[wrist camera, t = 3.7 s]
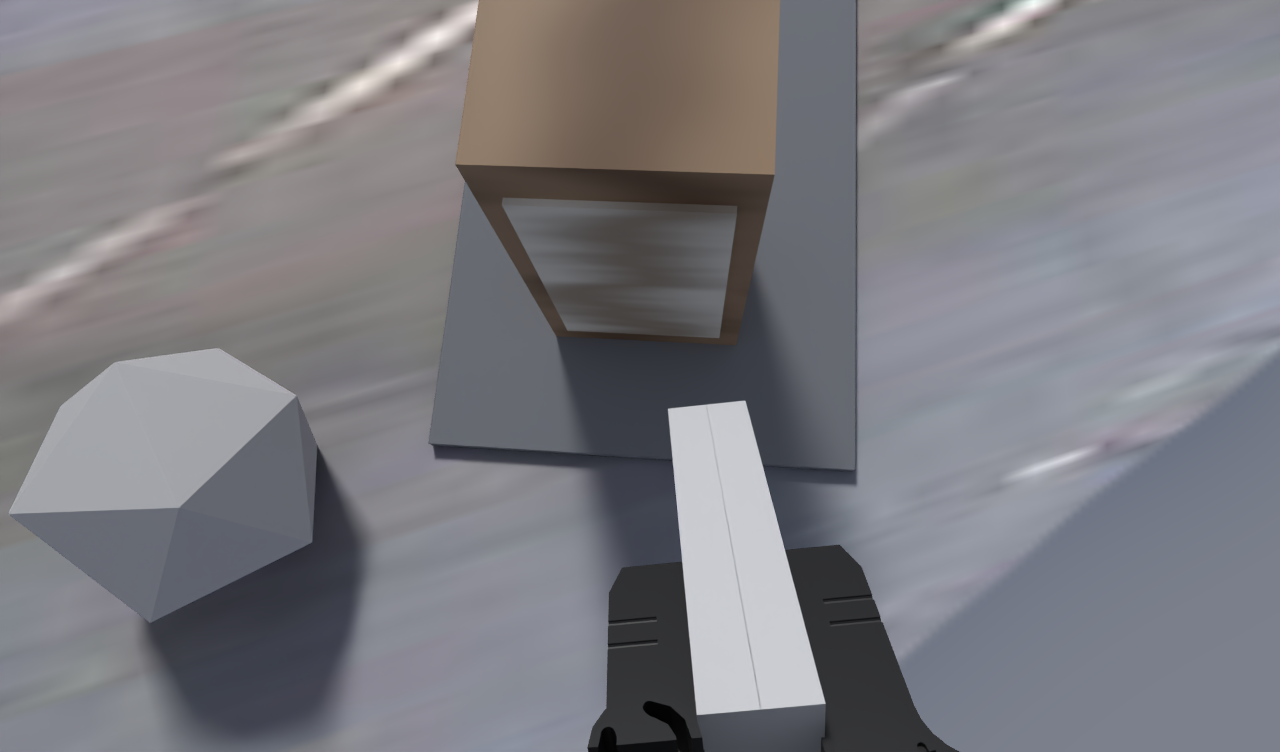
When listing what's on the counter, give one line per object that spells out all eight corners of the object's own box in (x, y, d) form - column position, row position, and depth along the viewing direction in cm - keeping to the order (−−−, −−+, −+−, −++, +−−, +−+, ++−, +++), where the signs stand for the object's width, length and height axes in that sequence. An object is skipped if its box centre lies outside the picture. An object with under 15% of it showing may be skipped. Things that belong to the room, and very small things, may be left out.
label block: (555, 341, 29) (454, 172, 16) (568, 218, 30) (482, -26, 18) (735, 350, 28) (774, 182, 16) (740, 225, 30) (780, -23, 17)
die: (247, 341, 31) (-59, 368, 23) (375, 341, 26) (42, 376, 18) (269, 530, 32) (-19, 618, 24) (396, 564, 27) (89, 688, 19)
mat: (432, 445, 29) (428, 443, 28) (503, -67, 34) (500, -76, 34) (852, 471, 28) (855, 469, 27) (853, -64, 33) (856, -73, 33)
